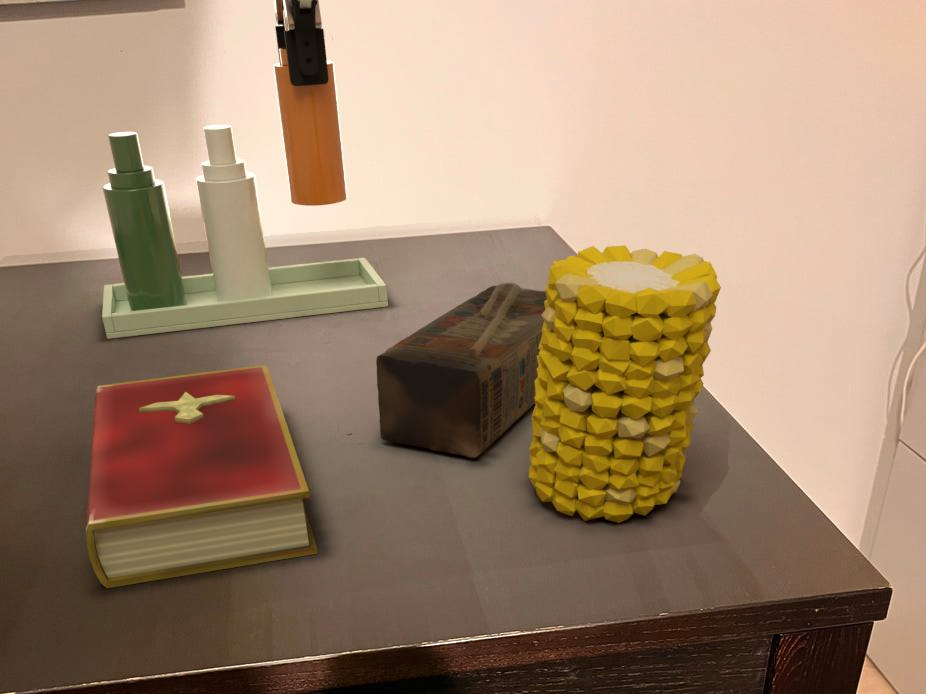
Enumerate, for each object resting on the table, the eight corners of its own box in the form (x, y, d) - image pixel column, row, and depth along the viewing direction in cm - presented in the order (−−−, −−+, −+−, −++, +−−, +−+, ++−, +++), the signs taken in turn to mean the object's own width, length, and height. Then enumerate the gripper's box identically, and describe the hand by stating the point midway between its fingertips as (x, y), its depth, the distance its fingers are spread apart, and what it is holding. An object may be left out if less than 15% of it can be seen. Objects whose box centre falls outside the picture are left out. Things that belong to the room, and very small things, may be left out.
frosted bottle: (207, 301, 97) (175, 128, 88) (253, 289, 100) (226, 120, 91) (237, 312, 94) (207, 133, 85) (283, 299, 96) (259, 125, 88)
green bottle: (121, 311, 95) (80, 135, 86) (170, 298, 98) (135, 127, 89) (148, 322, 92) (109, 141, 83) (198, 309, 95) (165, 132, 86)
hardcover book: (98, 589, 55) (78, 521, 52) (105, 439, 72) (90, 382, 69) (317, 553, 57) (308, 486, 55) (274, 416, 74) (266, 360, 72)
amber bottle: (279, 200, 94) (253, 10, 85) (324, 191, 96) (303, 6, 88) (313, 208, 90) (289, 11, 82) (358, 198, 93) (340, 7, 85)
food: (574, 471, 69) (706, 518, 64) (467, 499, 60) (611, 557, 55) (622, 233, 62) (774, 265, 57) (510, 226, 53) (678, 263, 48)
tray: (107, 339, 90) (101, 316, 89) (108, 305, 98) (103, 284, 97) (388, 306, 95) (386, 285, 94) (366, 277, 104) (365, 257, 103)
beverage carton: (581, 368, 80) (584, 283, 77) (481, 466, 66) (478, 368, 62) (490, 356, 83) (488, 274, 79) (375, 447, 69) (366, 353, 65)
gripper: (216, -176, 83) (251, 74, 94) (234, -200, 70) (273, 95, 80) (306, -178, 85) (331, 68, 95) (341, -201, 72) (365, 89, 82)
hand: (304, 78), depth 88 cm, fingers closed on amber bottle, 5 cm apart
